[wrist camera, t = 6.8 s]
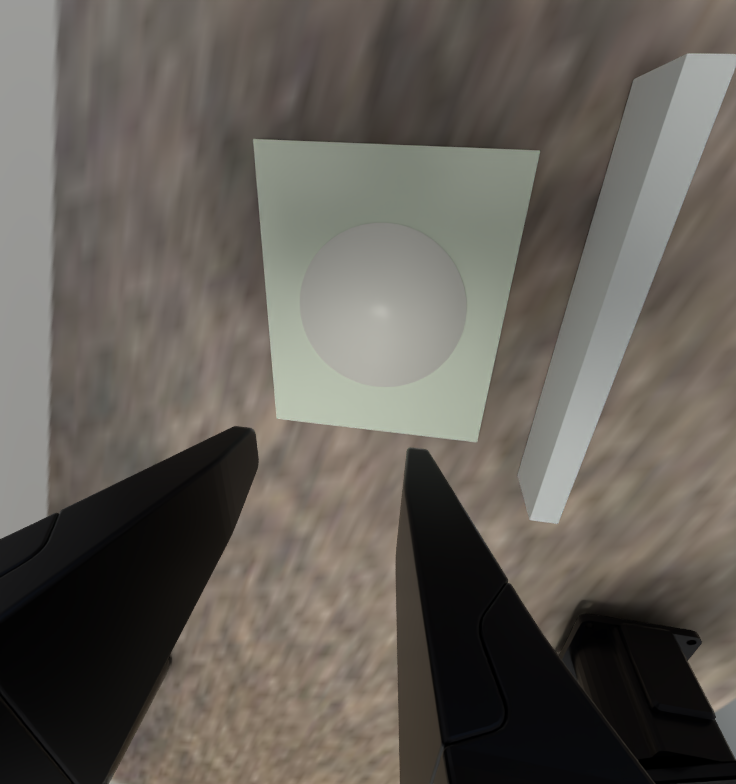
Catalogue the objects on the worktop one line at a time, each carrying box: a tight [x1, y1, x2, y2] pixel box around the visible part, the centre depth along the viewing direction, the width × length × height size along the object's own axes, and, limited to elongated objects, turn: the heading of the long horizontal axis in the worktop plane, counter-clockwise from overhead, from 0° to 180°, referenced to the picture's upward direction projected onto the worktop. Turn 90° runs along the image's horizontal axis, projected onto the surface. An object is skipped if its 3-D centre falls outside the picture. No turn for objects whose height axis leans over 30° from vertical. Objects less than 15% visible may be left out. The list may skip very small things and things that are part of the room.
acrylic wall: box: [517, 53, 736, 524], centre depth 15 cm, size 16×1×3 cm, turn 178°
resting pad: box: [253, 139, 540, 442], centre depth 17 cm, size 12×10×1 cm
